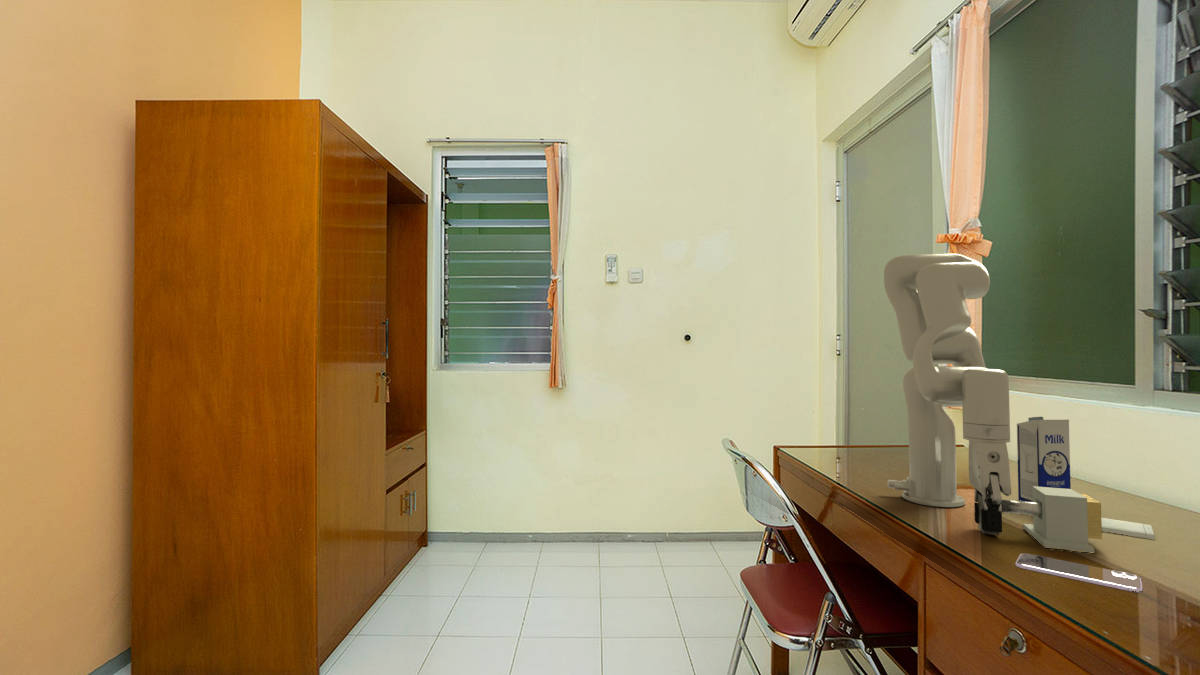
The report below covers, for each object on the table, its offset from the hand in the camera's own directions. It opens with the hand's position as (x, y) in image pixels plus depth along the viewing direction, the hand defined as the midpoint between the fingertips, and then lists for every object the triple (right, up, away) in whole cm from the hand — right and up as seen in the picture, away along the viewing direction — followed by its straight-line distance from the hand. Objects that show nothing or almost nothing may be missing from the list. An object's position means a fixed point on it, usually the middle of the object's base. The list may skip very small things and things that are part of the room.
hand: (988, 526), depth 107 cm
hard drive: (+26, -2, +3) cm, 27 cm away
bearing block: (+10, -1, -4) cm, 11 cm away
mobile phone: (+1, -1, -19) cm, 19 cm away
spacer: (+14, +1, -6) cm, 15 cm away
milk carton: (+27, -2, +20) cm, 34 cm away
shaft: (+6, -1, -3) cm, 7 cm away
